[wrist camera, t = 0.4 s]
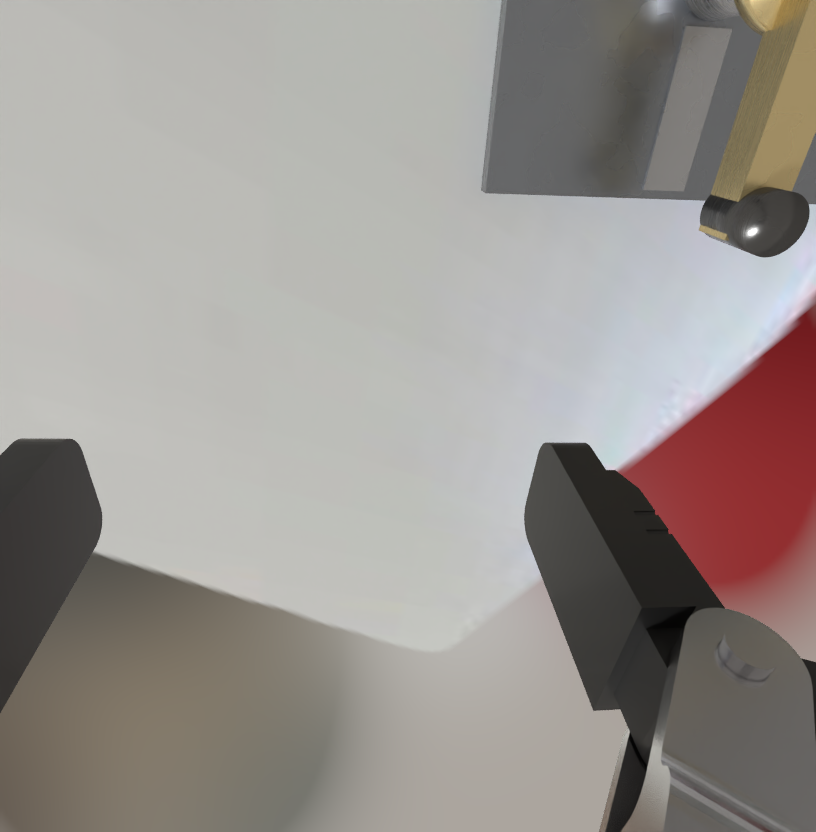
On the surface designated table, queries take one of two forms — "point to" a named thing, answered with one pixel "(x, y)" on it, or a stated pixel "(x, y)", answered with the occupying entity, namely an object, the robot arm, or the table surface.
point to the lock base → (618, 98)
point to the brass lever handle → (768, 134)
